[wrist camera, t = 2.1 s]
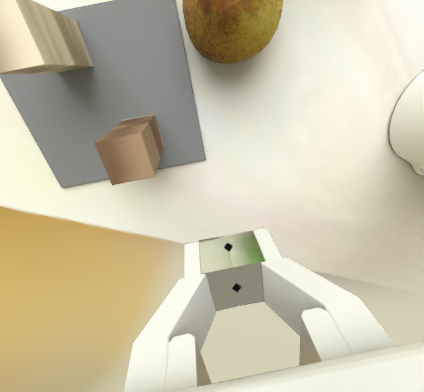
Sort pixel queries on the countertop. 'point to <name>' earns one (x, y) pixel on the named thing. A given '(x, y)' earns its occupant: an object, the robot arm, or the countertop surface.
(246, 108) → the countertop surface
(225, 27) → the fruit
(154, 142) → the walnut block
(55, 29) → the ash block
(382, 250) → the countertop surface
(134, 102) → the mat
